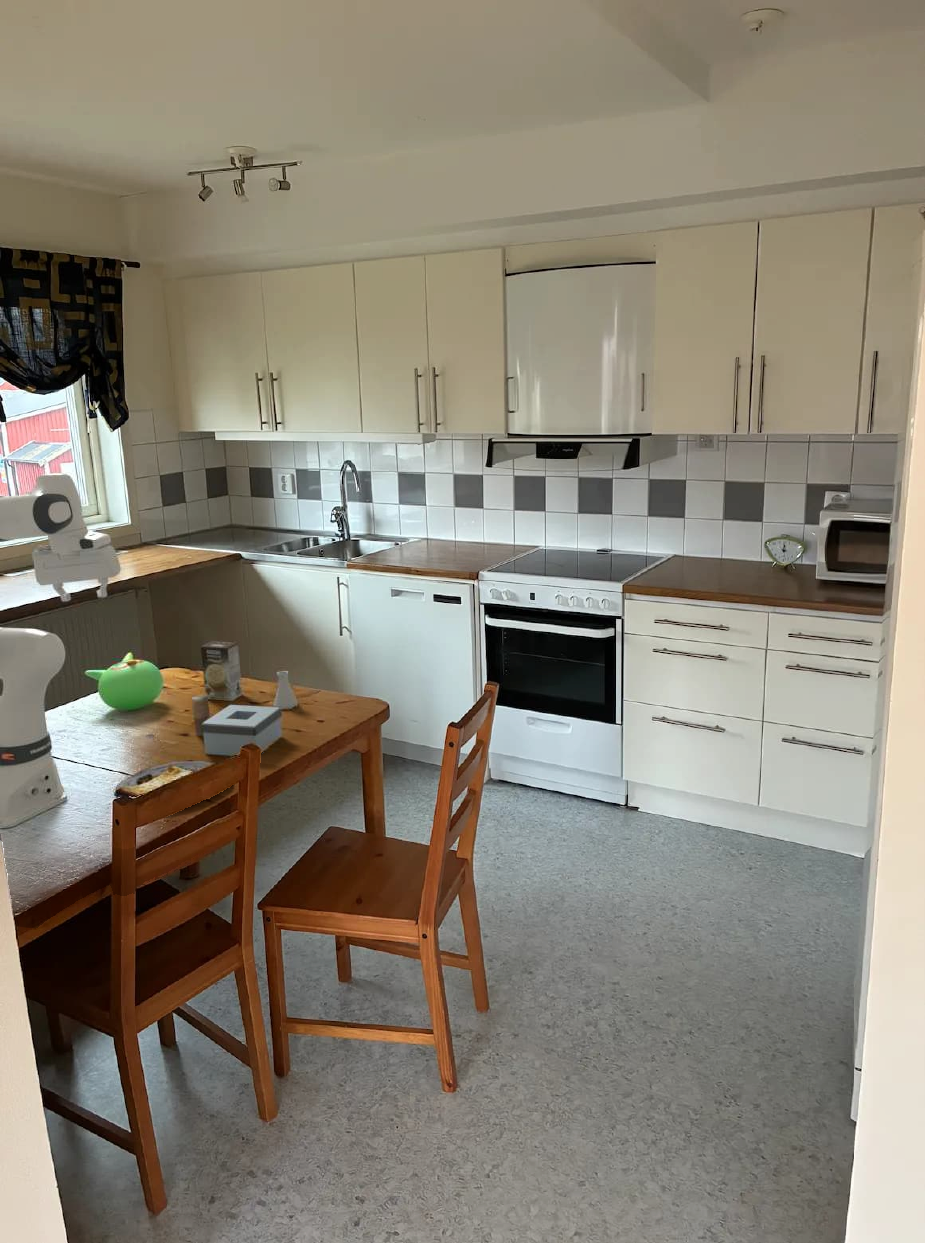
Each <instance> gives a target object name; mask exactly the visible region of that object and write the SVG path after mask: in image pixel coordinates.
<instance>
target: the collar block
mask: <svg viewBox="0 0 925 1243" xmlns="http://www.w3.org/2000/svg"><path fill="white" fill-rule="evenodd" d="M282 716H283V714H282V710H281V709H280V708H279V707H273V706H260V705H240V704H229V705H228V706H227V707H225V708H223V709H222V710H220V711H219V712H217V713H215V714H214V715H213V716H210V718H209V719H208V720H206V721H205V722H203V723H202V725H201V730H202V732H203V735H204V736H203V742H204V743H203V744H204V752H205V755H217V756H232V757H235V756H234V755H237V754H238V753H239V751H240V749H242V746H243V745H246V744H249V743H255V744H257V745H258V746H260V748H261V749H262V752H263V749H265V748H266V747H267V746H268V745H270V744H271V743H272V742H273V741H276V740H277V738H278V737H281V736H282V737H283V729H282ZM263 753H264V752H263Z"/></svg>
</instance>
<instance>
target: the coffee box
mask: <svg viewBox="0 0 925 1243" xmlns="http://www.w3.org/2000/svg"><path fill="white" fill-rule="evenodd" d="M200 652H201V663H202V664H201V665H202V673H203V684H204V692H205V694H204V695H207V696H208V700H213V701H214V700H217V701H227V702H233V701H235V700H236V699H237V698H239V697H241V696H243V690H242V689H243V686H242V679H241V678H242V677H241V666H240V664H241V663H240V653H239V643H238V642H229V641H217V640H211V641H209V642H207V643H205V644H203V645H200Z"/></svg>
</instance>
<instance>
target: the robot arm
mask: <svg viewBox="0 0 925 1243" xmlns="http://www.w3.org/2000/svg"><path fill="white" fill-rule="evenodd" d="M46 536H47V539H48V543H49V544H46V545H43V546H42V545H37V546H35V548H34V549H32V552H31V558H32V561H33V568H34V575H35V579H36V580H35V581H36V582H37V584H39V586H50V585H52V587H53V590H54V591H56V592H55V593H57V594H58V595H59V598H60V600H61V602H63V603H64V602H69V601H71V600H72V597H71V594H70V592H67V591H66V590H65V589H64V588H63V587H64V584H66V583H67V584H68V583H76V582H83V581H93V580H97V582H98V584H100V585H99V586H100V587H99V589H98V590H96V594H97V597H98V598H106V597H107V596H108V592H107V586H108V584H109V578H114V577H116V576H119V575H120V573H121V571H122V569H121V568H122V567H121V564H120V560H119V557H118V554H117V552H116V550H115V548H114V546H112V545H111V544H110V543H111V542H112V539H111V536H110V535H109V534H108V533H103V532H102V533H101V532H98V531H92V530H88V525H87V523H86V522H85V520H84V516H83V506H82V502H81V498H80V495H79V492H78V488H77V486H76V484H75V482H74V479H73V478H72V476H71V475H68V474H67V473H62V472H61V473H46V474H42V475H39V476H37V477H36V478H35V486H34V487H33V488H32V490H30V491H29V492H28V493H25V494H19V495H18V494H17V495H11V496H10V495H9V496H0V542H1V543H4V542H9V541H14V540H19V539H21V540H22V539H29V538H38V537H46ZM65 658H66V649H65V646H64V643H63V641H62V639H61V638H60V637H59V636H58V635H57V634H56V633H51V632H49V631H46V630H42V629H36V628H24V627H23V628H22V627H1V626H0V680H1V681H2V684H3V686H2V687H3V688H2V693H1V695H0V829H6V828H13V827H15V826H17V825H19V824H21V823H23V822H25V821H27V820H30V819H32V818H35V817H36V816H38V815H40V814H42V813H44V812H46V811H48V810H50V809H52V808H54V807H56V806H58V805H60V804H62V803H64V802H65V801H67V800H68V796H67V793H65V788H64V786H63V785H62V781H61V779H60V778H61V777H60V775H59V771H58V767H57V764H56V761H55V760H54V757H53V755H52V751H51V750H52V749H53V745H52V744H53V743H52V739H51V735H50V732H48V727H47V721H46V720H47V719H46V712H45V711H46V709H45V696H46V692H47V689H48V688H47V687H48V685H49V683H50V681H51V680H52V679H53V677H55V676H56V675H57V674H58V673H59V672H60V670H61V669H62V667H63V666H64V663H65Z"/></svg>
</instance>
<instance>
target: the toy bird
mask: <svg viewBox="0 0 925 1243" xmlns="http://www.w3.org/2000/svg"><path fill="white" fill-rule="evenodd" d="M133 656H134V655H133V653H132V652H128V653H127V654H126V655H125V656H124V657H123V659H122V661H120V662H117V663H114V664H113V665H111V666H110V667H109V668H107V669H92V670H91V669H90V670H86V671H85V672H84V674H85V675H86V676H87V677H90V678H92V679H94V680H96V681H98V684H97V692H98V695H99V697H100V699H101V700H102V701H103V703H104V704H105V705H106V706H108V707H110V708H112V709H114V710H118V711H133V710H137V709H138V710H139V709H141V708H143V707H144V708H145V707H146V706H149V705H150V704H151V703H153V702H154V701H156V699H158V697H159V696H160V694H161V693H162V691H163V687H164V678H163V674H162V672H161V670H160V669H159V668H158V666H156V665H155V664H154V663H152V662H150V661H147V660H143V659H134V657H133Z"/></svg>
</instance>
